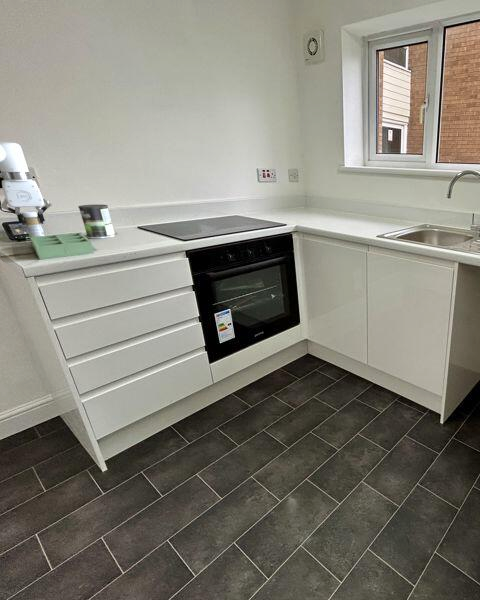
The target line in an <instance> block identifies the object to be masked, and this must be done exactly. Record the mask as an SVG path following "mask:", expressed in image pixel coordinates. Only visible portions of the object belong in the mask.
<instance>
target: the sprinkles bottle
mask: <svg viewBox="0 0 480 600" xmlns="http://www.w3.org/2000/svg"><path fill="white" fill-rule="evenodd" d="M20 213H21V214H22V216H23V219H24V222H25V226H26V230H27V233H28V236H29V238H30V237H36V236H46V234H45V233H44V229H43V226H42V224H41V223H40V220H39V217H38V211H30V210H29V211H22V212H20Z"/></svg>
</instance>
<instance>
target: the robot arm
mask: <svg viewBox="0 0 480 600" xmlns="http://www.w3.org/2000/svg"><path fill="white" fill-rule="evenodd" d="M26 161H27V160H26V158H25V155H24V152H23V149H22V146H21V145H20V144H19V143H16V142H9V141H0V178H2V179H3V180H1V186H2V187H1V188H2V191H3V194H4V197H5V198H4V200H3V201H2V203H1V204H0V208H2V209H3V210H6V211H8V212H11V213H13V214H15V215H16V217H17V220H18V222H19V224H22V226H26V224H25V221H24V218H23V216H22V214H21V213H22V212H21V208H35V210H36V211H37V213H38V218H39V221H40V224H41V225H43V224H44V223H45V222H46V220H45V217H44V213H45V212H46V211H47V209H49V208H50V207H52V204H51V203H50V202H49V201H48V200H46V199H45V198H44V197H43V196H42V192H41V191H40V188H39V186H38V184H37V182H36V181H35V180H33V179H32V177H31V173H30V171H29V167H28V164H27V162H26Z"/></svg>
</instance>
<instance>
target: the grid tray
mask: <svg viewBox="0 0 480 600" xmlns="http://www.w3.org/2000/svg"><path fill="white" fill-rule="evenodd" d="M29 241H30V243H31V247H32V248H33V250H34V251H35V254H36V256H37V257H38V259H39V260H49V259H55V258H56V259H57V258H64V257H72V256H73V257H74V256H80V255H81V256H82V255H88V254H95V250H94V247H93V244H92V241H91V240H90V238H87V236H85V235H84V234H83V233H82V232H71V233H62V234H61V233H60V234H50V235H45V236H36V237H30V236H29Z"/></svg>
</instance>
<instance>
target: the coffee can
mask: <svg viewBox="0 0 480 600" xmlns="http://www.w3.org/2000/svg"><path fill="white" fill-rule="evenodd" d="M77 208H78V209H79V212H80V216H81V220H82V222H83V223H82V224H83V226H84V230H85V233H86V238H87V239H92V240H97V239H100V240H101V239H102V240H103V239H111V238H114V237H116V233H115V230H114V225H113V222H112V218H111V213H110V211H109V205H108V204H83V205H81V204H80V205H78V206H77Z"/></svg>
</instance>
